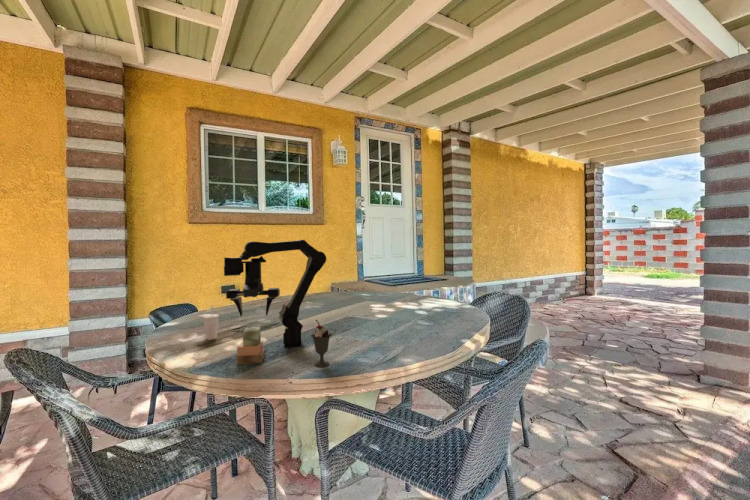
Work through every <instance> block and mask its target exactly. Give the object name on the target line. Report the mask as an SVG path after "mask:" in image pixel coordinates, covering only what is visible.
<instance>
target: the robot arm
mask: <svg viewBox="0 0 750 500" xmlns="http://www.w3.org/2000/svg"><path fill="white" fill-rule="evenodd" d="M288 251H300V252H301V253H302V254H303V255H304V256H305V257H306V258H307V260H306V265H305V266H306V267H305V270H304V273H303V275H302V276H301V277H300V278H301V279H300V281H299V282H298V284H297V287H296V289H295V291H294V293H293V294H292V297H291V298H290V301H289V302H288V303H287V304H285V303H283V304H282V306H281V309H280V311H279V312H278V315H279V316H278V319H279V322H280V323H281V324H282V326H284V327H285V329H284V332H283V335H282V336H283V338H282V339H283V344H284V347H285V348H288V347H301V346H302V344H303V340H302V330H303V328H304V325H303V324H302V323H301V322H300V320H299V321H298V319H299V315H300V308H301V305H302V303H303V301H304V299H305V297H306V295H307V293H308V291H309V289H310V286H311V284H312V282H313V280H314V278H315V277H316V275H317V274H318V273H319V271H321V269H322V268H323V267H324V266H325V263H326V262H327V256H326V254H325V252H323V251H320V250H317V249H316V248H315V247H313V246H312V245H310V244H309V243H308V242H307V241H306V239H298V240H288V241H277V242H264V241H263V242H262V241H252V240H251V241H248V242H247V243H246V244H245V245H244V247H243V252H242V253H241V254H240V256H239V257H227V256H226V257H223V260H224V262H223V276H224V277H230V276H231V277H233V276H234V277H235V276H241V274H242V273H244V276H245V278H244V285H243V287H242V290H241V288H229V290H227V291H226V293H225V299H229V300H230V301H231V302H233V303H234V304H235V306H236V307H237V311H238V313H239V315H240V317H243V313H244V311H243V301H242V300H243V299H242V297H243V298H248V297H249V298H257V296H267V297H266V308H265V316H268V314H269V311H270V308H271V305H272V303H273V300H275V299H277V298H278V297H279V296H280V295H281V290H280V287H269V288H268V289H264V284H263V282H262V263H267V260H266V259H265V258H264V257H263V256H264V255H266V254H270V253H276V252H277V253H279V252H288ZM249 259H250V260H249Z"/></svg>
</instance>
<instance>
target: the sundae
mask: <svg viewBox="0 0 750 500" xmlns="http://www.w3.org/2000/svg"><path fill="white" fill-rule="evenodd" d="M315 321H316V322H317V326H316V329H315V330H314V332H313V334H311V335H310V336H311V338H312V339H313V343H314V348H315V349H314V350H315V352H316V353H317V354H318V355H319V361H317V362H315V363H314V367H316V368H326V367H329V365H330V362H328V361H325V360H324V355H325V354H326V353H327V352H328V349H329V343H330V337H331V336H332V333H329V330H328V329H327V328H326V327H325V326H322V325H320V322H319V321H318V319H315Z"/></svg>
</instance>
